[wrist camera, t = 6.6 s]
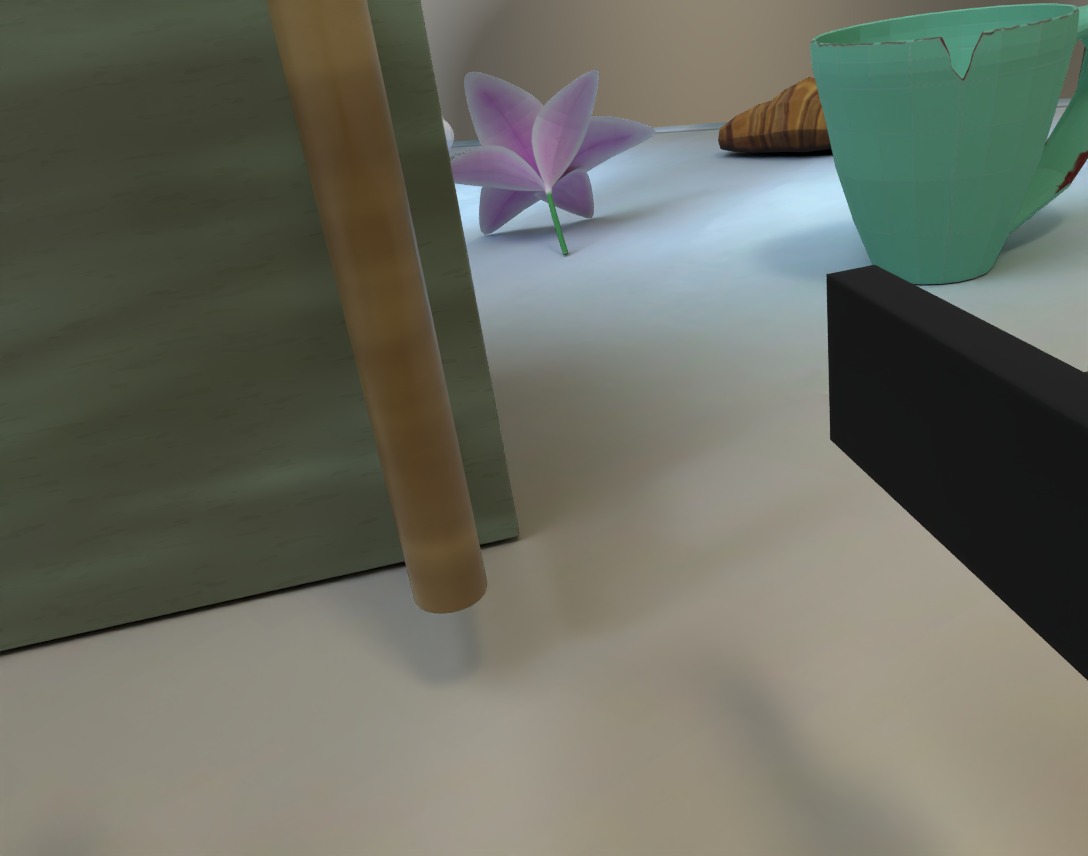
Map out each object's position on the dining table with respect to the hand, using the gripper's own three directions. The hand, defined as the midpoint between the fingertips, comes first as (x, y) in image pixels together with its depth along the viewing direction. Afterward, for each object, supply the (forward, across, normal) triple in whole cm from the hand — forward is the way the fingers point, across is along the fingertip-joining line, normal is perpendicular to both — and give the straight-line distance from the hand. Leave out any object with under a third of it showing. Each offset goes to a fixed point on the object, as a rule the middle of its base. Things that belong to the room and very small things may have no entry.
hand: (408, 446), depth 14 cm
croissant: (+53, +29, -8) cm, 61 cm away
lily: (+43, +9, -8) cm, 44 cm away
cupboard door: (+8, -6, -8) cm, 13 cm away
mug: (+26, +25, -8) cm, 37 cm away
